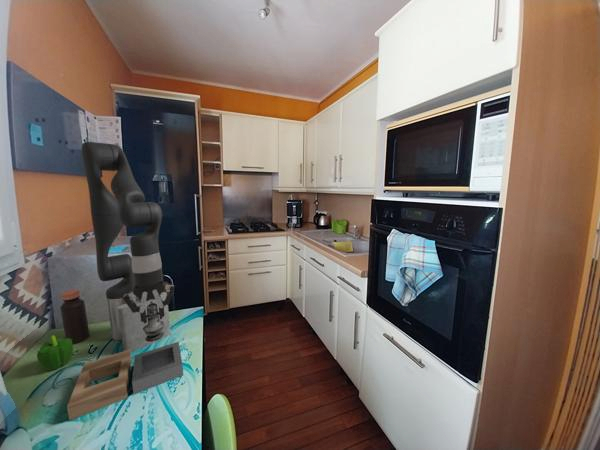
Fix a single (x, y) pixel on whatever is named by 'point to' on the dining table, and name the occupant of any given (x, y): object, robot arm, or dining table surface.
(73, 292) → the bottle
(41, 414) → the dining table surface
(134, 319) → the hip flask
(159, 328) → the chess piece
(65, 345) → the bell pepper
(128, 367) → the wooden rectangular frame
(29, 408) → the dining table surface
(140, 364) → the seat block
